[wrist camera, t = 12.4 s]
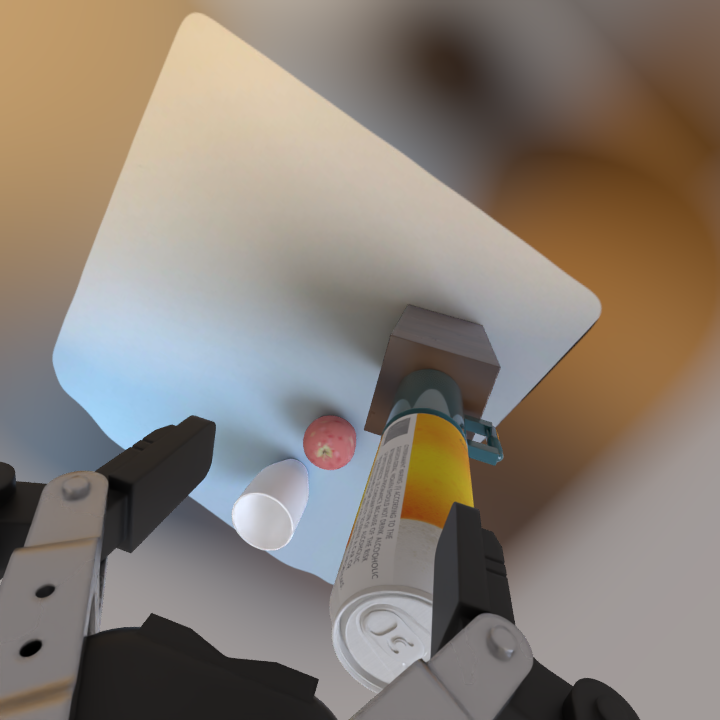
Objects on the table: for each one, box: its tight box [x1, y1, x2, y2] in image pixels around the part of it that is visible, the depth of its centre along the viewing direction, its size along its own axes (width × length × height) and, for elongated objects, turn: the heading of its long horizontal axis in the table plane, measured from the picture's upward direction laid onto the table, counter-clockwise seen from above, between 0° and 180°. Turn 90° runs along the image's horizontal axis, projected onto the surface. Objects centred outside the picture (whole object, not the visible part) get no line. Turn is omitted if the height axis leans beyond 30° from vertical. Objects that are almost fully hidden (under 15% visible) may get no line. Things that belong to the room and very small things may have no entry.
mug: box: [232, 459, 309, 551], centre depth 59 cm, size 12×9×12 cm
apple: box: [303, 415, 356, 470], centre depth 57 cm, size 7×7×8 cm
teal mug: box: [381, 369, 504, 466], centre depth 33 cm, size 6×9×9 cm
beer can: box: [329, 413, 474, 694], centre depth 22 cm, size 6×6×15 cm
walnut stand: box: [364, 305, 501, 440], centre depth 46 cm, size 10×10×18 cm
